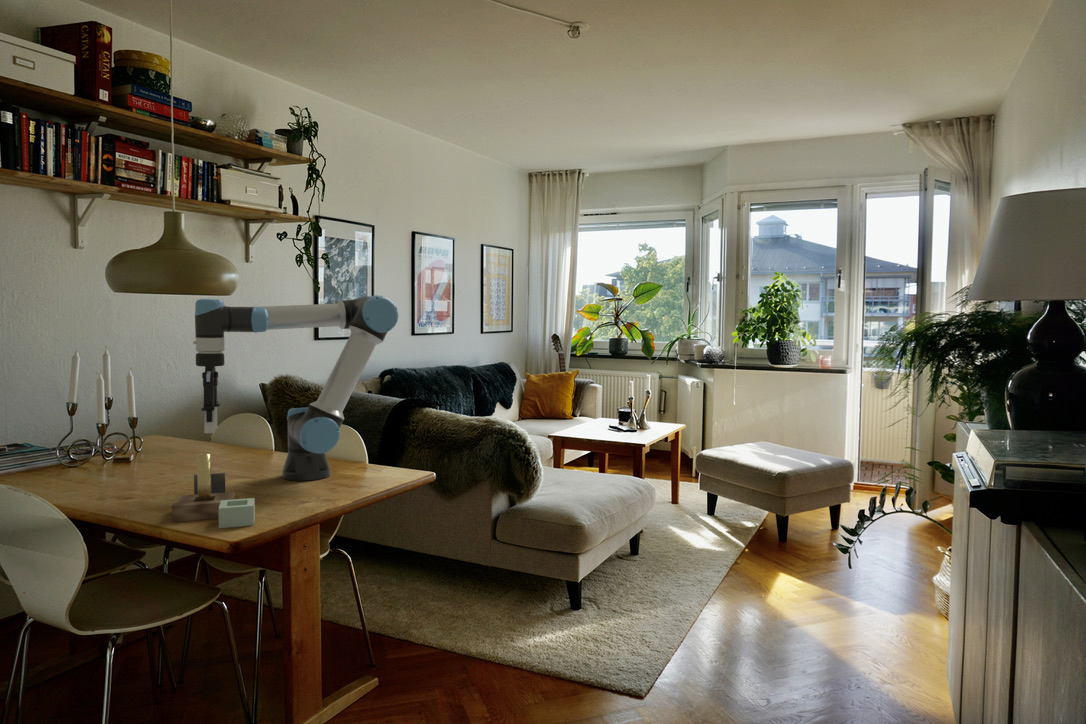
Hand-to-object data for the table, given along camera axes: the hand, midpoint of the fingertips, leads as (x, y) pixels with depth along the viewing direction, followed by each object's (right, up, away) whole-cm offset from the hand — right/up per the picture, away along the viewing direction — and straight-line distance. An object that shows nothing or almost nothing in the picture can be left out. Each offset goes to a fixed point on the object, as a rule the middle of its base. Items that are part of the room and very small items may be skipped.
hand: (211, 430), depth 200 cm
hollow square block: (+19, -21, -25) cm, 38 cm away
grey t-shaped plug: (+3, -19, -8) cm, 21 cm away
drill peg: (+7, -20, -18) cm, 28 cm away
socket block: (+7, -20, -18) cm, 28 cm away
